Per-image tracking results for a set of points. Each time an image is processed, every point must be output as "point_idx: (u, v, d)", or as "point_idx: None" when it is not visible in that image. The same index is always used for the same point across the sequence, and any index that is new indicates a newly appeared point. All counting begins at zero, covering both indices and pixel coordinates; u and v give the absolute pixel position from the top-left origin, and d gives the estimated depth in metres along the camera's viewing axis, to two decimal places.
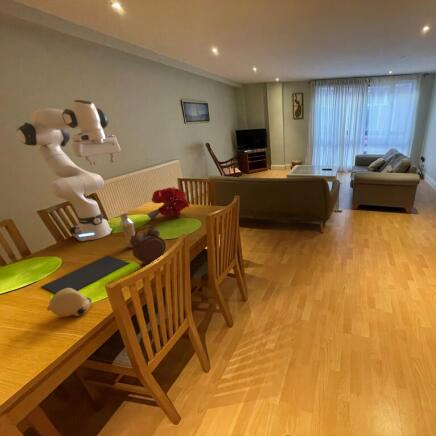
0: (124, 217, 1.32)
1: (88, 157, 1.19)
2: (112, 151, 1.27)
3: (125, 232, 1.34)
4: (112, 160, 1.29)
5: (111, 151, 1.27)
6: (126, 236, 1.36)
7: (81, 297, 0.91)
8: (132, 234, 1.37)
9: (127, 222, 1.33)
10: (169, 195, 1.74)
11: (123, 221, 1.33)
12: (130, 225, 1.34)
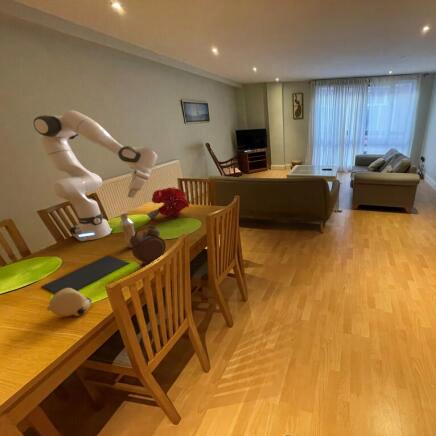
0: (124, 217, 1.32)
1: (136, 191, 1.31)
2: None
3: (125, 232, 1.34)
4: None
5: None
6: (126, 236, 1.36)
7: (81, 297, 0.91)
8: (132, 234, 1.37)
9: (127, 222, 1.33)
10: (169, 195, 1.74)
11: (123, 221, 1.33)
12: (130, 225, 1.34)
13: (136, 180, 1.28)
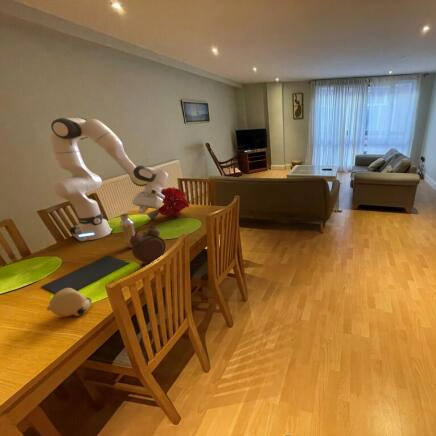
0: (124, 217, 1.32)
1: None
2: None
3: (125, 232, 1.34)
4: None
5: None
6: (126, 236, 1.36)
7: (81, 297, 0.91)
8: (132, 234, 1.37)
9: (127, 222, 1.33)
10: (169, 195, 1.74)
11: (123, 221, 1.33)
12: (130, 225, 1.34)
13: (157, 200, 1.40)
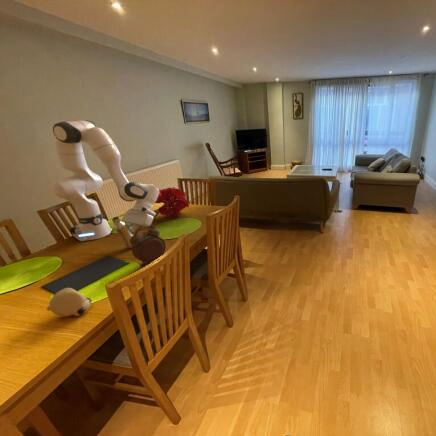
0: (116, 221, 1.28)
1: None
2: None
3: (121, 235, 1.32)
4: None
5: None
6: (123, 238, 1.34)
7: (81, 297, 0.91)
8: (128, 235, 1.35)
9: (120, 225, 1.30)
10: (169, 195, 1.74)
11: (116, 225, 1.29)
12: (124, 227, 1.31)
13: (147, 217, 1.36)
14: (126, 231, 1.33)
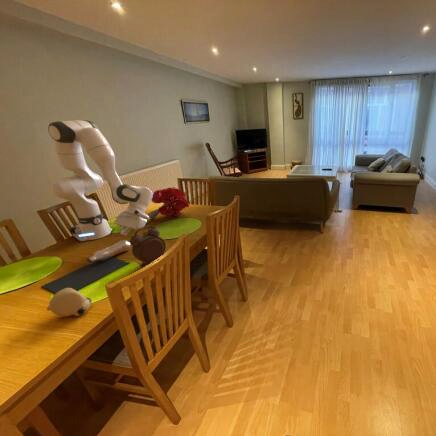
0: (94, 262, 1.21)
1: None
2: None
3: None
4: None
5: None
6: None
7: (81, 297, 0.91)
8: (116, 252, 1.29)
9: (101, 260, 1.23)
10: (169, 195, 1.74)
11: (98, 261, 1.23)
12: (106, 257, 1.24)
13: (139, 221, 1.32)
14: (110, 254, 1.26)
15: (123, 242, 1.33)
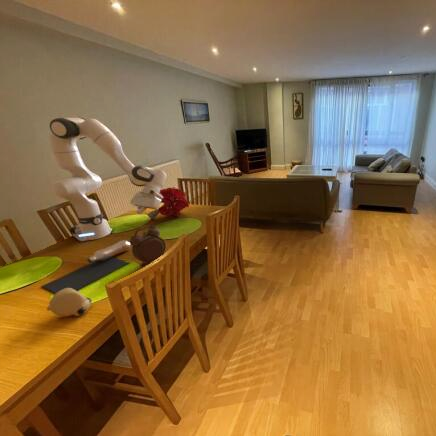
0: (94, 262, 1.21)
1: None
2: None
3: None
4: None
5: None
6: None
7: (81, 297, 0.91)
8: (116, 252, 1.29)
9: (101, 260, 1.23)
10: (169, 195, 1.74)
11: (98, 261, 1.23)
12: (106, 257, 1.24)
13: (155, 200, 1.39)
14: (110, 254, 1.26)
15: (123, 242, 1.33)
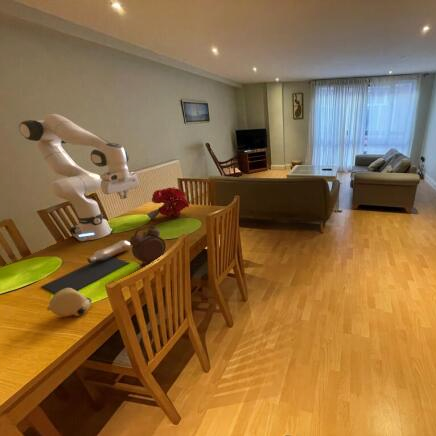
0: (94, 262, 1.21)
1: (120, 192, 1.33)
2: (133, 187, 1.39)
3: None
4: (125, 196, 1.37)
5: (132, 187, 1.39)
6: None
7: (81, 297, 0.91)
8: (116, 252, 1.29)
9: (101, 260, 1.23)
10: (169, 195, 1.74)
11: (98, 261, 1.23)
12: (106, 257, 1.24)
13: (101, 185, 1.25)
14: (110, 254, 1.26)
15: (123, 242, 1.33)
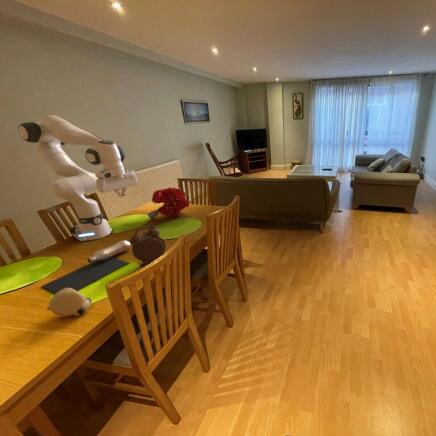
0: (94, 262, 1.21)
1: (117, 190, 1.32)
2: (131, 184, 1.38)
3: None
4: (124, 194, 1.36)
5: (130, 184, 1.37)
6: None
7: (81, 297, 0.91)
8: (116, 252, 1.29)
9: (101, 260, 1.23)
10: (169, 195, 1.74)
11: (98, 261, 1.23)
12: (106, 257, 1.24)
13: (96, 183, 1.25)
14: (110, 254, 1.26)
15: (123, 242, 1.33)
